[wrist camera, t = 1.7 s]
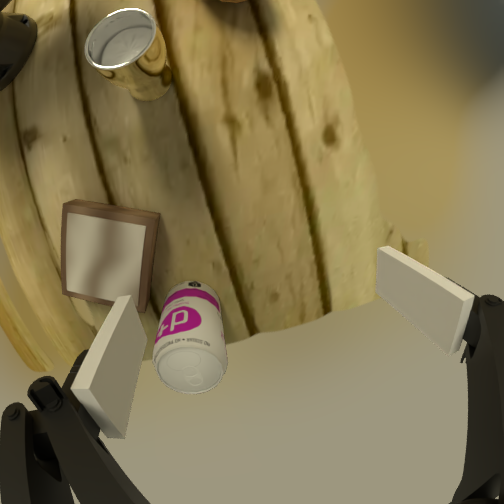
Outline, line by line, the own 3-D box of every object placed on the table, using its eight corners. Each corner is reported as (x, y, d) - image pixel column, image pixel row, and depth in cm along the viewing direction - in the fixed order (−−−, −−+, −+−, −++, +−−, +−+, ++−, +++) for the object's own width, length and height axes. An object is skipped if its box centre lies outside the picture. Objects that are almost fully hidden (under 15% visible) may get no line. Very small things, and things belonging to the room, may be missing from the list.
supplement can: (156, 288, 39) (136, 353, 25) (209, 271, 39) (212, 332, 25) (178, 332, 41) (171, 403, 27) (227, 317, 42) (239, 386, 28)
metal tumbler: (181, 61, 29) (169, 6, 15) (168, 107, 31) (143, 73, 17) (133, 56, 28) (98, 7, 14) (119, 102, 29) (71, 72, 15)
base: (72, 282, 36) (61, 295, 32) (75, 199, 32) (62, 204, 28) (149, 299, 39) (144, 313, 35) (160, 213, 35) (154, 219, 31)
